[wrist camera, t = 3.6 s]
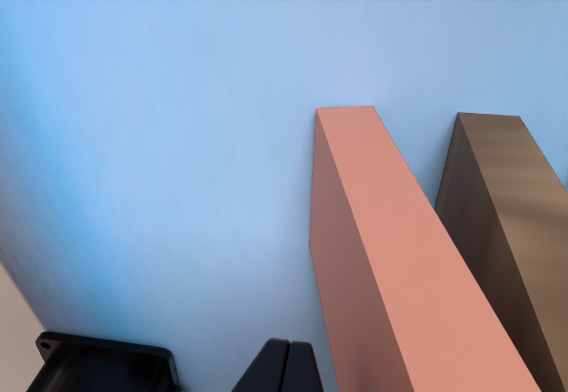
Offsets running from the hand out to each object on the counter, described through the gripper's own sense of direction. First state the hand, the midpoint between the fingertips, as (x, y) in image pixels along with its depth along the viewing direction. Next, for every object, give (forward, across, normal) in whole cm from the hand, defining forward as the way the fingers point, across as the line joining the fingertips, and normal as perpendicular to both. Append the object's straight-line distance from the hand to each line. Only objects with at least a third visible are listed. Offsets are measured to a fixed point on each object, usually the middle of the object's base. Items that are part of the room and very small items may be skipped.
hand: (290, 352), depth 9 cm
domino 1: (+6, -1, 0) cm, 6 cm away
